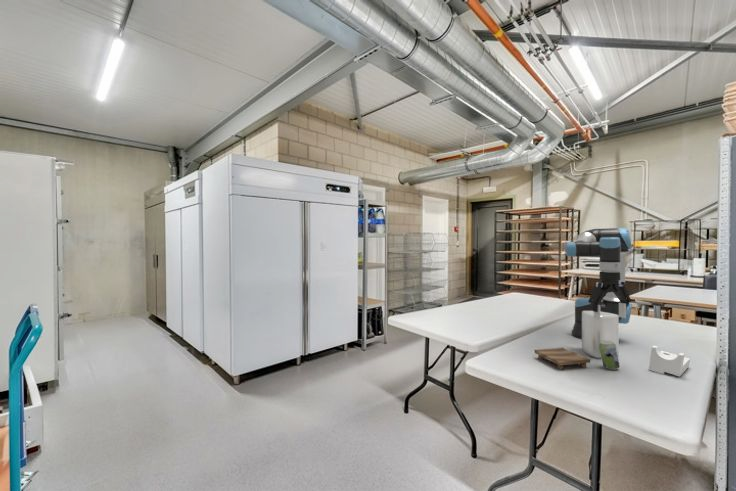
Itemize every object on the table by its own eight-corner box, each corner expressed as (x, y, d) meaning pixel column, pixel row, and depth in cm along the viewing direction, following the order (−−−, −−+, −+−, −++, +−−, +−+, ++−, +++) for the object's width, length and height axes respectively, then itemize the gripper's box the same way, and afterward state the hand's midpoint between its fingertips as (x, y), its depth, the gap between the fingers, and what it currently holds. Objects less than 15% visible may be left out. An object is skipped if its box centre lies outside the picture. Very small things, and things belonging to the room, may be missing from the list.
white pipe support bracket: (679, 379, 132) (682, 355, 131) (648, 369, 140) (651, 347, 139) (688, 369, 143) (691, 346, 142) (659, 360, 151) (662, 339, 150)
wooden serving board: (534, 357, 156) (534, 349, 156) (562, 355, 159) (562, 347, 159) (559, 370, 141) (559, 362, 141) (590, 367, 144) (590, 359, 143)
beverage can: (622, 371, 139) (622, 344, 139) (603, 370, 141) (603, 343, 140) (614, 366, 145) (614, 340, 145) (596, 365, 147) (596, 339, 147)
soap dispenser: (618, 354, 160) (618, 311, 159) (615, 362, 149) (615, 316, 149) (583, 348, 170) (583, 307, 170) (577, 355, 160) (577, 311, 159)
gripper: (593, 272, 136) (593, 321, 137) (641, 271, 141) (641, 318, 141) (578, 271, 144) (579, 317, 144) (624, 269, 148) (624, 314, 149)
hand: (609, 318), depth 143 cm, fingers open, 13 cm apart
